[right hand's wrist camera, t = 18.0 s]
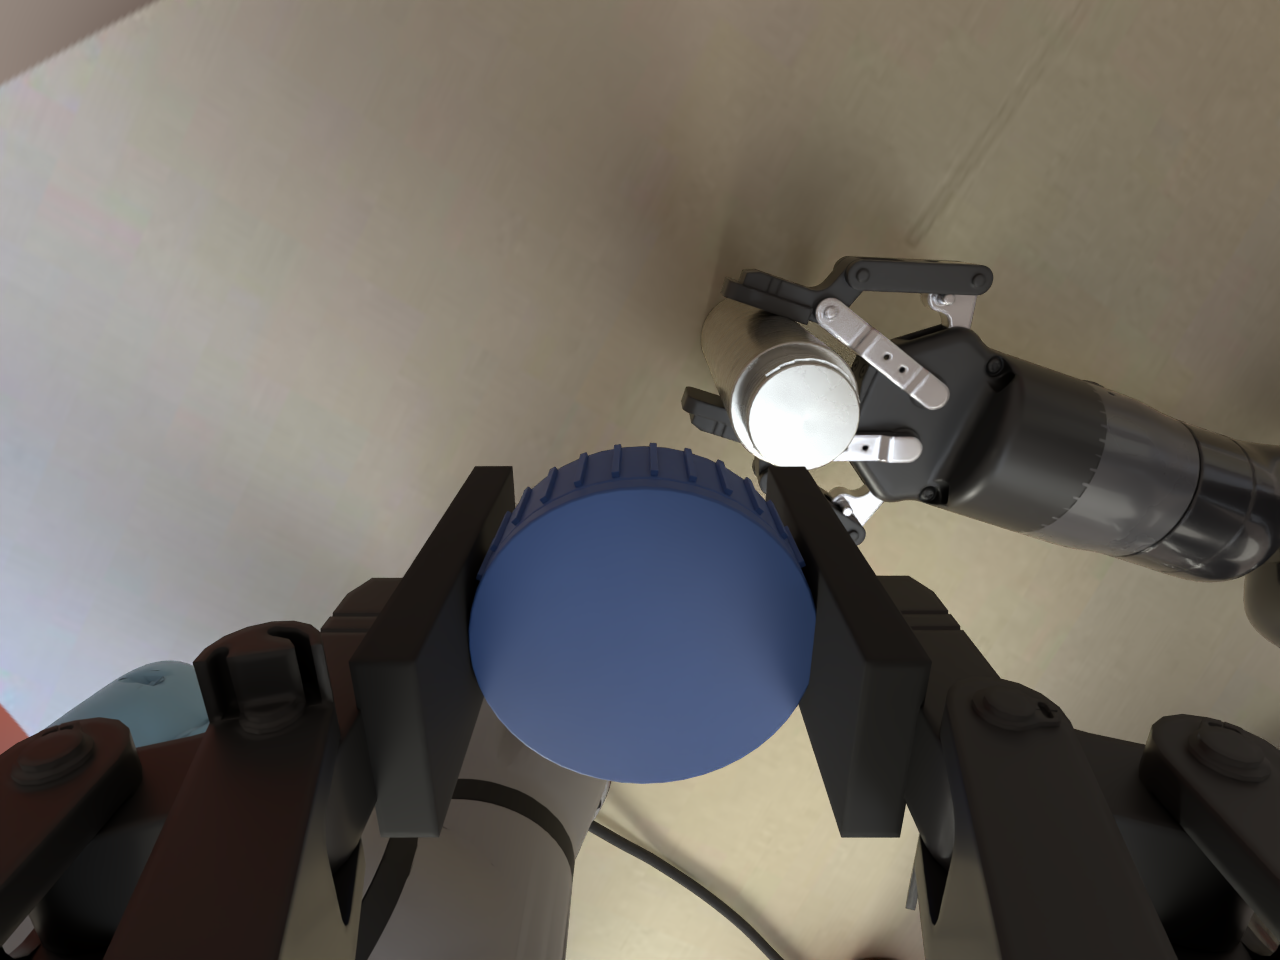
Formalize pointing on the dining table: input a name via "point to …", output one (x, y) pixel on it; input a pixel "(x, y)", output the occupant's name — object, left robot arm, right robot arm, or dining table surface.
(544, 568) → the lid
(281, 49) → the dining table surface
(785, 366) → the beige bottle
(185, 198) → the dining table surface
